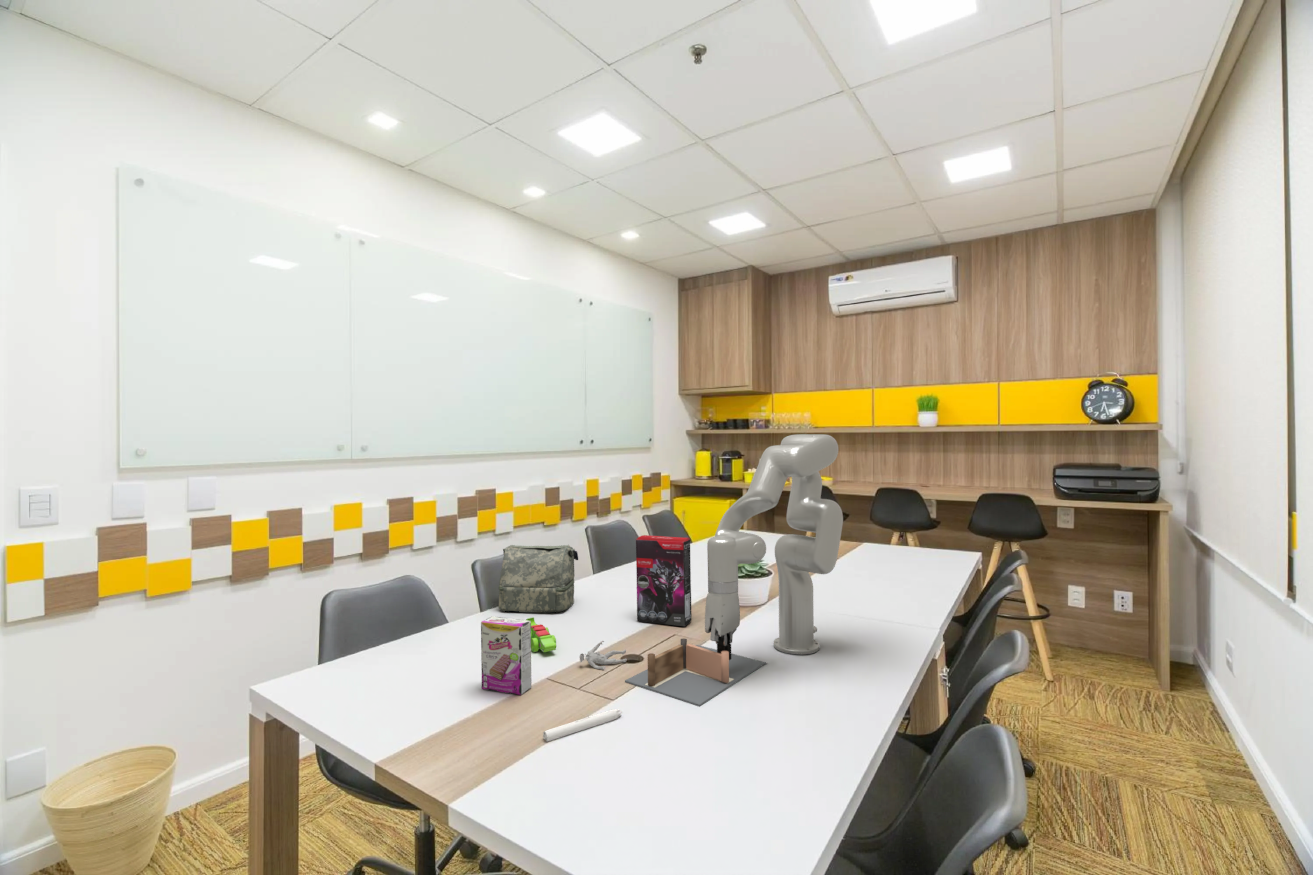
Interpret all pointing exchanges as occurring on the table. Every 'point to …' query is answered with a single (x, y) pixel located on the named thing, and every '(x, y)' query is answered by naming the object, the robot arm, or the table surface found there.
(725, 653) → the fence swing section
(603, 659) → the soldier figure
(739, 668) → the mat
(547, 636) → the toy crocodile
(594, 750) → the table surface
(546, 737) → the marker
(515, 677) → the candy bar box
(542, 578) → the lunch bag
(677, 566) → the graphics card box
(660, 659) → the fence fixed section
